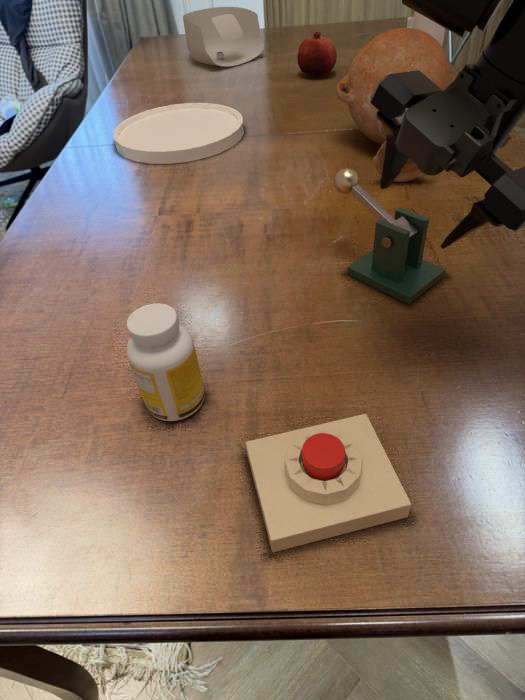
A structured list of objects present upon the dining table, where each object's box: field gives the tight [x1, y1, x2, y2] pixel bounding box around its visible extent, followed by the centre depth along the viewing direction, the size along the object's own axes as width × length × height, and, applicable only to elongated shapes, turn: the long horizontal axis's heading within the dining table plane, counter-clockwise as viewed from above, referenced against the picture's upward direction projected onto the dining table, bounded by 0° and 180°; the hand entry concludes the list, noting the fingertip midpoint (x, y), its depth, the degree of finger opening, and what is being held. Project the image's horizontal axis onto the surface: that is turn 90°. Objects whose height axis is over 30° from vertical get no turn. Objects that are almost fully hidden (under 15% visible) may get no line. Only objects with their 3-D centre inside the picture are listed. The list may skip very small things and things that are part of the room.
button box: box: [245, 413, 412, 553], centre depth 44 cm, size 10×12×4 cm
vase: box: [406, 11, 446, 47], centre depth 111 cm, size 11×7×20 cm, turn 0°
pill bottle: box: [126, 302, 206, 422], centre depth 50 cm, size 6×6×12 cm
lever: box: [333, 167, 418, 244], centre depth 65 cm, size 13×3×3 cm, turn 43°
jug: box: [335, 27, 451, 183], centre depth 90 cm, size 20×19×30 cm
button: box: [302, 433, 345, 480], centre depth 43 cm, size 4×4×2 cm
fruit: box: [296, 31, 338, 77], centre depth 131 cm, size 11×10×10 cm
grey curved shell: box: [182, 6, 265, 67], centre depth 149 cm, size 20×19×12 cm
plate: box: [112, 102, 245, 165], centre depth 109 cm, size 28×28×2 cm
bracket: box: [347, 207, 447, 305], centre depth 65 cm, size 10×8×8 cm
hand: (412, 216), depth 52 cm, fingers open, 9 cm apart
